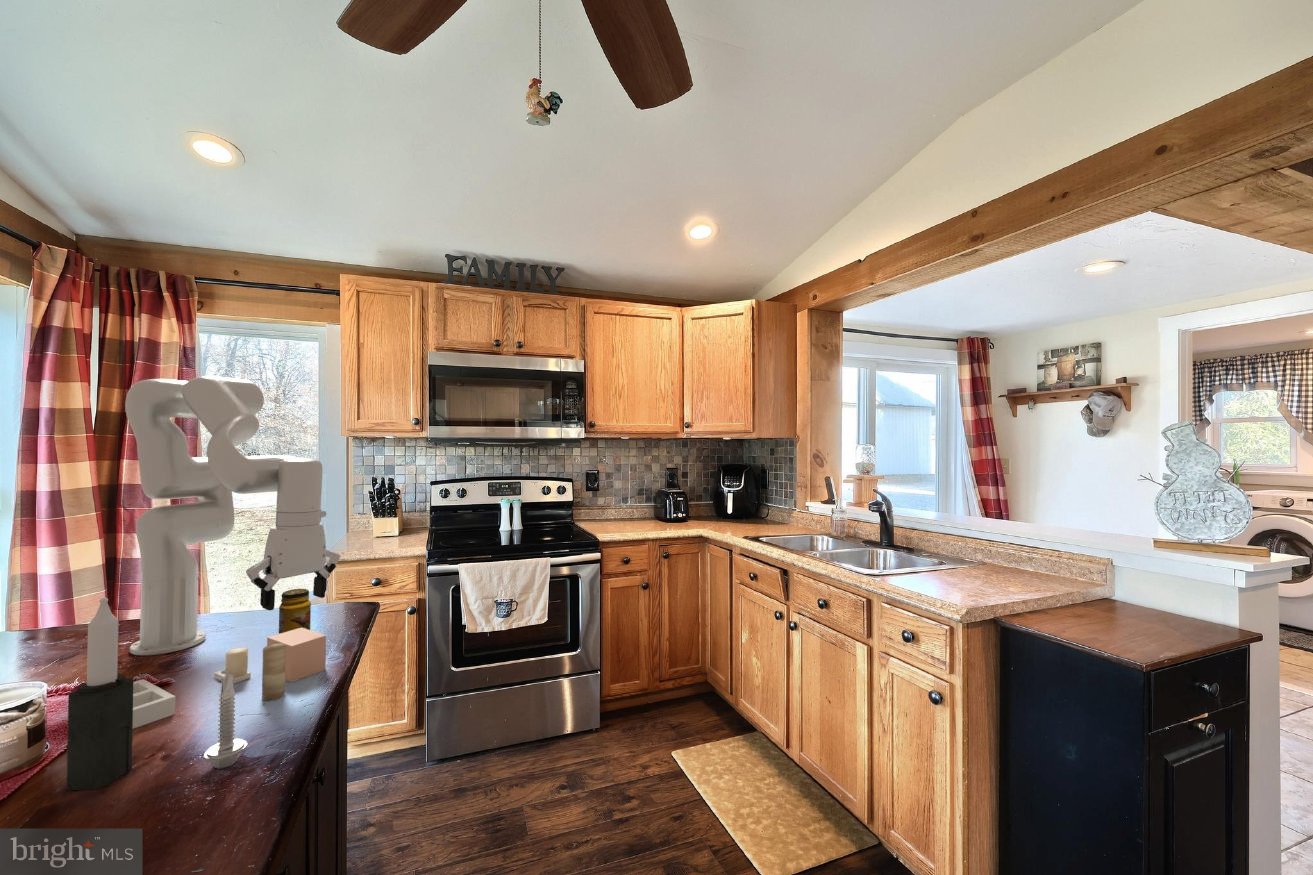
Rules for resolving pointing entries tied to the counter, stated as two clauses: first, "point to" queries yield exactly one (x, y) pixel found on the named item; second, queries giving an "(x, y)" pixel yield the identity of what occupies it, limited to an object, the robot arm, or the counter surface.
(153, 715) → the socket board
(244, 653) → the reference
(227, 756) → the screw
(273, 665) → the pin
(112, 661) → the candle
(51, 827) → the counter surface
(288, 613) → the condiment
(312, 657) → the block
